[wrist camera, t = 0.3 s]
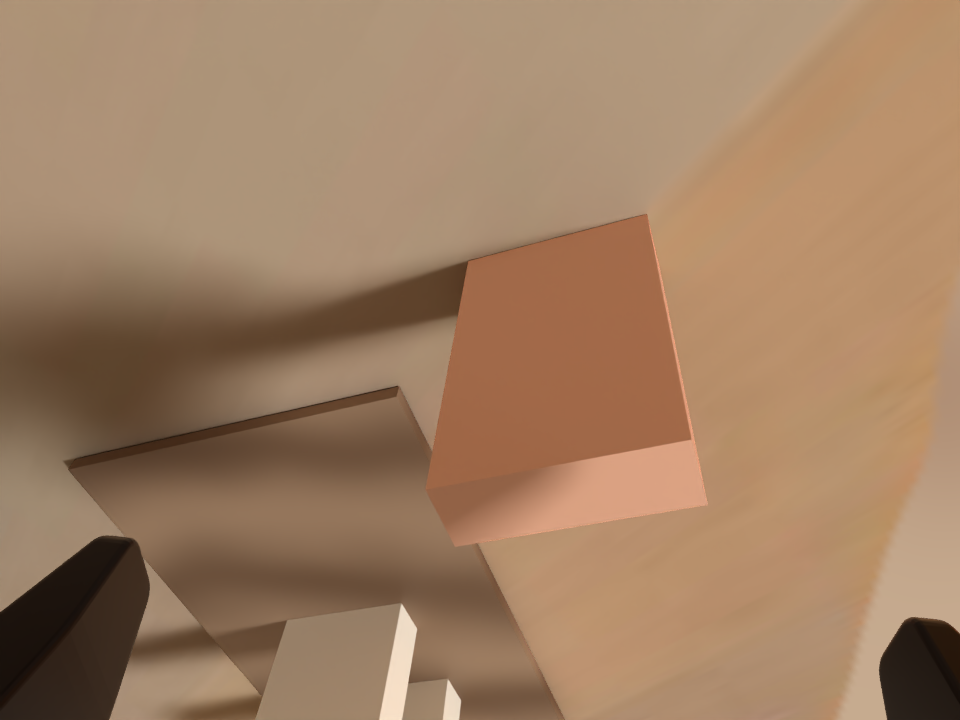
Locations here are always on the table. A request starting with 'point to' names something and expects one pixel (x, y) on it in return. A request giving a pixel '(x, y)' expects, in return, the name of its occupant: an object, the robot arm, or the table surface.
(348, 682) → the domino
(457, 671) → the walnut board
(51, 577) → the robot arm
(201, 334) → the table surface
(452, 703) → the domino
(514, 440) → the terracotta domino
